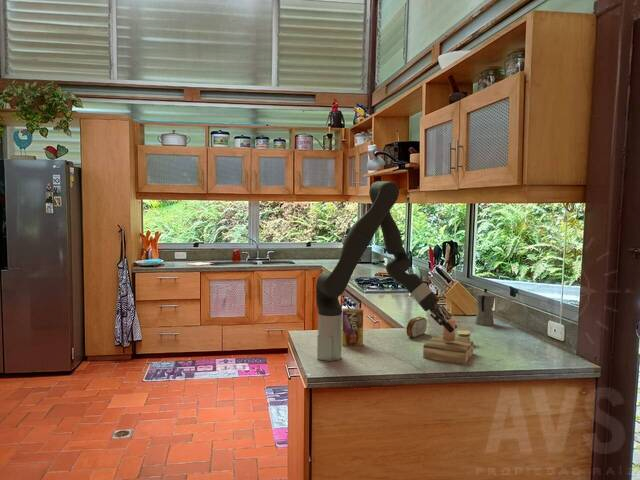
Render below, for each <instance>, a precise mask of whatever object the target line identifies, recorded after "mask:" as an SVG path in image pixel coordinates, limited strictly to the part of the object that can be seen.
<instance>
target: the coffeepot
mask: <svg viewBox="0 0 640 480" xmlns="http://www.w3.org/2000/svg"><path fill="white" fill-rule="evenodd" d="M483 291H484V292H479V293H478V292H477V293H476V294H475V298H476V306H477V307H476V308H477V313H476V316H475V321H474V323H475V324H476V325H479V326H484V327H492V326H494V325H495V321H494V314H493V308H494V304H495V298H496V295H495V294H494V293H490V292H488V289H487V288H483Z"/></svg>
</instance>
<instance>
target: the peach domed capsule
mask: <svg viewBox="0 0 640 480" xmlns="http://www.w3.org/2000/svg"><path fill="white" fill-rule="evenodd" d="M446 320H447V321H448V322H447V323H449V324H450V325H451V326H452V327H453V328H454V331H452V332H451V333H449V331H448V330H447V329H446V328H445V327H444V326H442V337H443V340H444V341H455V339H456V329H455V324H456V320H455V319H454V318H451V319H446Z"/></svg>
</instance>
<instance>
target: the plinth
mask: <svg viewBox="0 0 640 480" xmlns="http://www.w3.org/2000/svg"><path fill="white" fill-rule="evenodd" d="M422 347H423V348H422V350H423V353H422V356H423V358H424V359H430V360H437V361H444V362H448V363H449V362H450V363H457V364H463V365H465V364H466V363H467V361H469V359H470V358H471V357H472V355H473V354H474V341H473V340H470V341H469V340H461V339H456V338H455V341H444V340H443V336H436V335H434V336H433V337H431V338H430V339H429V340H428V341H427V342H425V343H424V344H423V346H422Z"/></svg>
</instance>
